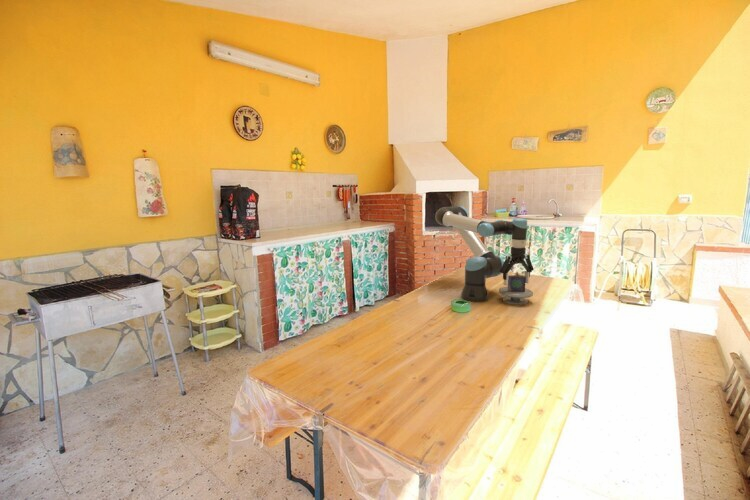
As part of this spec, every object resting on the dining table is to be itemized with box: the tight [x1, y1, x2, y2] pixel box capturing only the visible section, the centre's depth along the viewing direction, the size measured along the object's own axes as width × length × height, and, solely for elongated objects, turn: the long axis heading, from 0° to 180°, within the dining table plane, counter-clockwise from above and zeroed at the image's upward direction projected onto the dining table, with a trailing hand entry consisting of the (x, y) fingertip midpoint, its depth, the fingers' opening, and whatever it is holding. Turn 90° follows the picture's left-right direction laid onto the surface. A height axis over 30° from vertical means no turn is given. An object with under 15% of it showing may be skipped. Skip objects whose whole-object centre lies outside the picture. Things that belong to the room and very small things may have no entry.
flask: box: [507, 272, 526, 292], centre depth 200 cm, size 9×3×11 cm, turn 77°
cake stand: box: [498, 286, 534, 306], centre depth 201 cm, size 18×18×6 cm
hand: (516, 284), depth 200 cm, fingers open, 13 cm apart
